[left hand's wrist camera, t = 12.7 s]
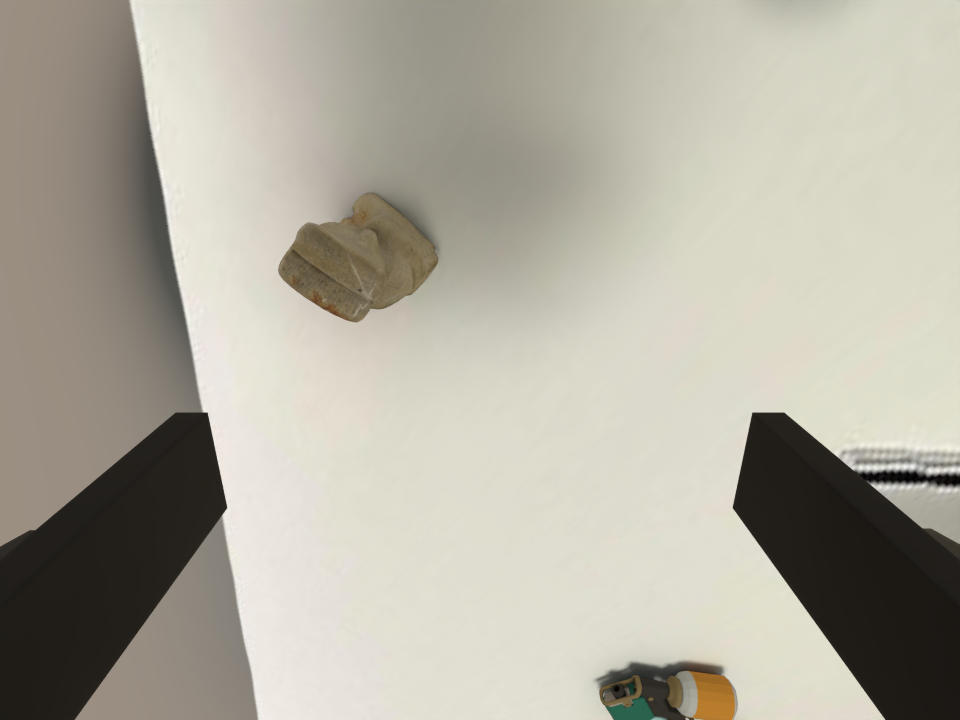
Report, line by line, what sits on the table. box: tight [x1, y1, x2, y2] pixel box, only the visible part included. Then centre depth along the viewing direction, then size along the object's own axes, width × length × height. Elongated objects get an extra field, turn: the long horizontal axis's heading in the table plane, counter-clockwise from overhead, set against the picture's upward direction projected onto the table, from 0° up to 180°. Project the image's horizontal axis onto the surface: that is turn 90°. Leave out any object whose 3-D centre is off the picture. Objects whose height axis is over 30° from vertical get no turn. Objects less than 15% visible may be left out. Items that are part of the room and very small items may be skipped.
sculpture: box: [278, 193, 438, 322], centre depth 33 cm, size 6×7×15 cm
